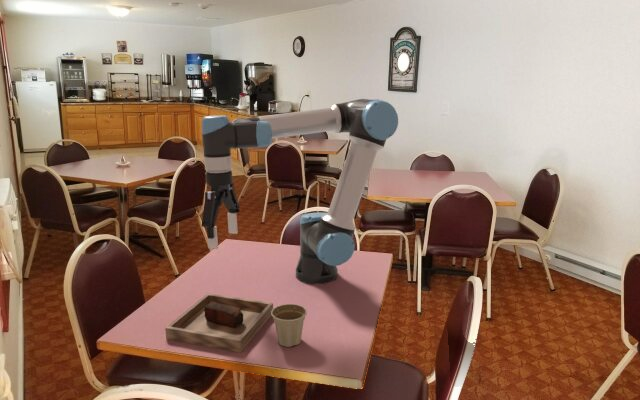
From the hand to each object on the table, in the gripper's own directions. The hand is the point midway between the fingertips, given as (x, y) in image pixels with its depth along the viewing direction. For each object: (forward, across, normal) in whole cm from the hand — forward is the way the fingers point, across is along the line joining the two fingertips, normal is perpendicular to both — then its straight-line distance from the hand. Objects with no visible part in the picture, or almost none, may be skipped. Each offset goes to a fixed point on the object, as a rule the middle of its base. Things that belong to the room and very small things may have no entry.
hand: (223, 240), depth 137 cm
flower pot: (+22, +14, +24) cm, 36 cm away
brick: (+21, +11, +4) cm, 24 cm away
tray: (+21, +11, +4) cm, 24 cm away
